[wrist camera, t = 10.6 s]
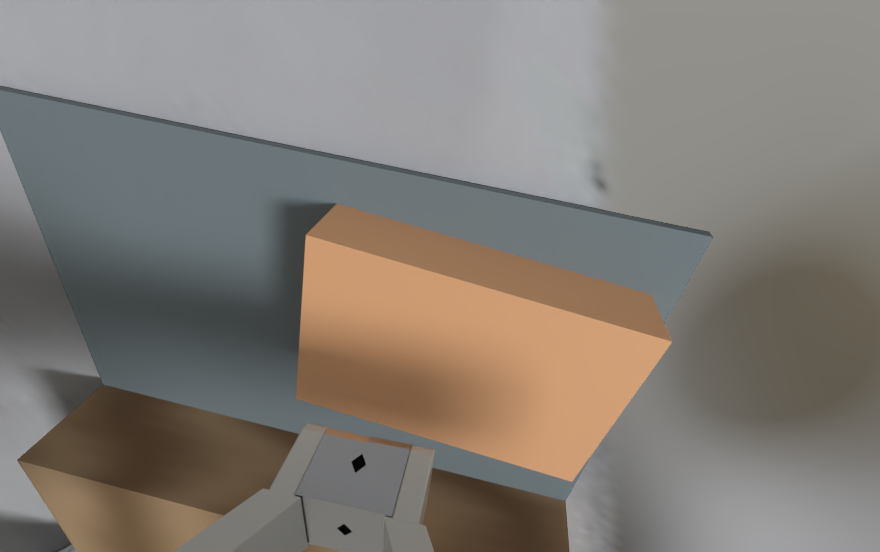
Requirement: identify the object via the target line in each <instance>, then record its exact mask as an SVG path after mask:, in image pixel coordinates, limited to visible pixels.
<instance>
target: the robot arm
mask: <svg viewBox="0 0 880 552" xmlns="http://www.w3.org/2000/svg"><path fill="white" fill-rule="evenodd" d="M434 454H435V450H434V449H428V448H423V447H418V446H413V445H412V444H407V443H401V442H396V441H391V440H386V439H381V438H375V437H368V436H363V435H359V434H354V433H350V432H345V431H341V430H336V429H332V428H329V427H324V426H319V425H314V424H309V423H307V425H306V426H305V427H304V428H303V429H302V430H301V432H300V434H299V436H298V437H297V439H296V441H295V443H294V445H293V447H292V448H291V450H290V452H289V454H288V456H287V458H286V459H285V461H284V463H283V465H282V467H281V469H280V471H279V472H278V474H277V476H276V478H275V480H274V482H273V483H272V485H271V487H270V489H261V490H260V491H258V492H257V493H255V494H254V495H253V496H251V497H250V498H248V499H247V500H246V501H244V502H243V503H241V504H240V505H238V506H237V507H236V508H234V509H233V510H231V511H230V512H229V513H227V514H226V515H224V516H223V517H222V518H220V519H219V520H217V521H216V522H214V523H213V524H212V525H210V526H209V527H207V528H206V529H205V530H203V531H202V532H200V533H199V534H197V535H196V536H195V537H193V538H192V539H190V540H189V541H188V542H186V543H185V544H183V545H182V546H181V547H179V548H178V549H176V550H175V551H173V552H303V551H304V550H305V549H306V548H307V547H308V544H311V545H316V546H321V547H326V548H330V549H335V550H340V551H345V552H434V549H433V546H432V543H431V540H430V537H429V534H428V531H427V528H426V526H424V525H423V521H424V516H425V511H426V506H427V501H428V495H429V488H430V482H431V475H432V468H433V461H434Z"/></svg>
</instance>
